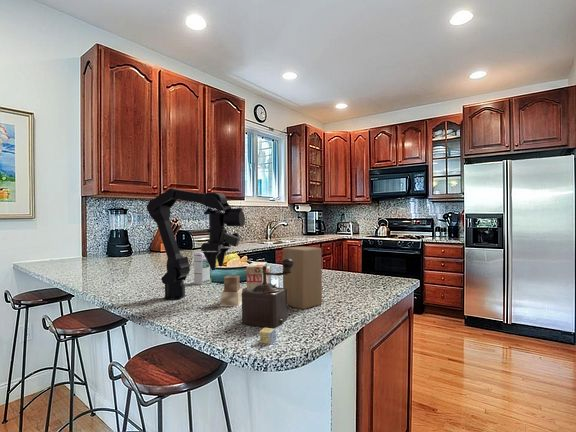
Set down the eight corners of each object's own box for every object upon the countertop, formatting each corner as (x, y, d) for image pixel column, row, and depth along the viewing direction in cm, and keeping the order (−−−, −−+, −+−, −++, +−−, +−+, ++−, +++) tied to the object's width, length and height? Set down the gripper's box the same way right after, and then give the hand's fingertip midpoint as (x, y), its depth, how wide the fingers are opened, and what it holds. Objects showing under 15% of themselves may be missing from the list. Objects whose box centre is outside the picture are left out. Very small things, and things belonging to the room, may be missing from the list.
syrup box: (202, 284, 155) (202, 253, 155) (193, 283, 159) (193, 252, 159) (211, 282, 160) (211, 252, 160) (202, 281, 163) (202, 251, 163)
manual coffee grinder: (275, 329, 93) (274, 264, 93) (240, 324, 97) (240, 262, 97) (296, 314, 107) (296, 257, 107) (265, 311, 111) (265, 256, 111)
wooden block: (301, 299, 126) (301, 246, 126) (322, 304, 119) (322, 247, 119) (282, 304, 119) (282, 248, 119) (303, 310, 112) (302, 249, 112)
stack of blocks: (257, 286, 152) (257, 259, 152) (271, 286, 151) (271, 259, 151) (246, 297, 130) (246, 265, 130) (262, 298, 130) (262, 266, 130)
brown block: (224, 292, 117) (224, 277, 117) (227, 289, 122) (227, 275, 122) (236, 292, 117) (236, 277, 117) (239, 289, 122) (239, 275, 122)
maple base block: (221, 305, 117) (221, 292, 117) (226, 300, 123) (226, 288, 123) (238, 305, 117) (238, 292, 117) (242, 301, 123) (242, 288, 123)
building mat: (202, 310, 112) (202, 309, 112) (215, 299, 127) (215, 298, 127) (240, 311, 111) (240, 309, 111) (249, 300, 126) (249, 298, 126)
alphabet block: (270, 345, 82) (270, 332, 82) (259, 343, 83) (259, 330, 83) (276, 340, 85) (276, 328, 85) (265, 338, 86) (265, 327, 86)
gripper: (231, 227, 116) (232, 272, 116) (243, 225, 135) (244, 264, 134) (200, 227, 117) (200, 272, 117) (216, 226, 136) (216, 264, 136)
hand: (217, 268), depth 126 cm, fingers open, 9 cm apart
